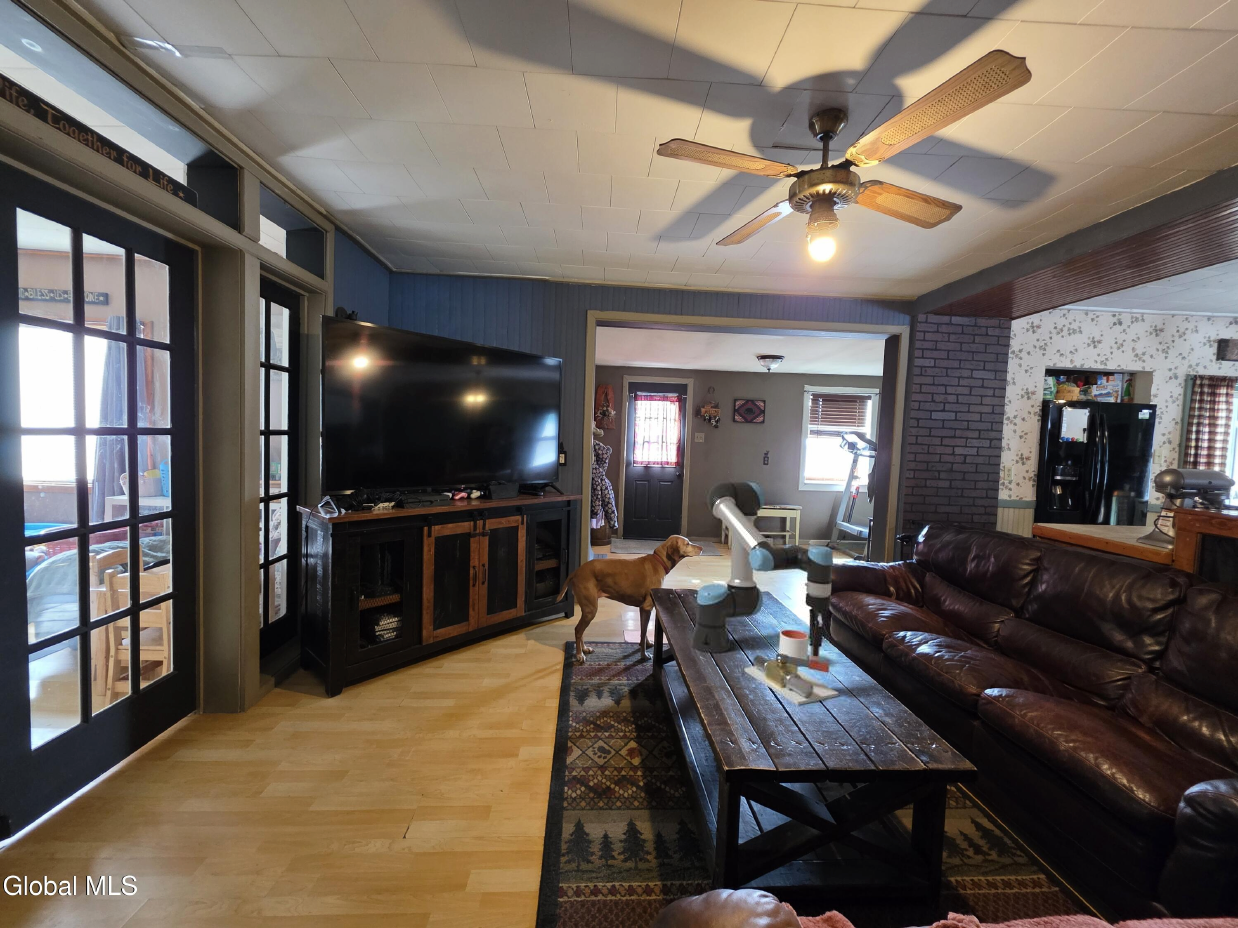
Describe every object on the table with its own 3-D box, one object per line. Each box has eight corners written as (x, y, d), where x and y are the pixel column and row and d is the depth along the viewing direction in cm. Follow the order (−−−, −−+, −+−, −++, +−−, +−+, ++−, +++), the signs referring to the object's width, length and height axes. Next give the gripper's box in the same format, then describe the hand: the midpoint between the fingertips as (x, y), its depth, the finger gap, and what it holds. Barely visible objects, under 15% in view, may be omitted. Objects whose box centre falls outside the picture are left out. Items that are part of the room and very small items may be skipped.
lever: (775, 662, 176) (775, 656, 176) (777, 658, 180) (777, 652, 180) (828, 673, 169) (828, 667, 169) (829, 668, 173) (829, 662, 173)
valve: (749, 670, 187) (750, 650, 187) (765, 667, 190) (766, 647, 189) (799, 702, 165) (800, 678, 165) (816, 698, 168) (817, 675, 168)
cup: (808, 667, 192) (810, 640, 191) (780, 664, 194) (781, 637, 193) (804, 657, 202) (806, 631, 201) (777, 654, 204) (778, 628, 203)
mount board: (744, 670, 187) (744, 668, 187) (782, 663, 194) (782, 661, 194) (797, 705, 164) (797, 701, 163) (838, 695, 171) (838, 692, 171)
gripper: (802, 587, 181) (799, 654, 182) (809, 598, 168) (805, 671, 169) (826, 589, 179) (821, 657, 181) (834, 601, 167) (830, 674, 168)
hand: (813, 664), depth 175 cm, fingers closed
